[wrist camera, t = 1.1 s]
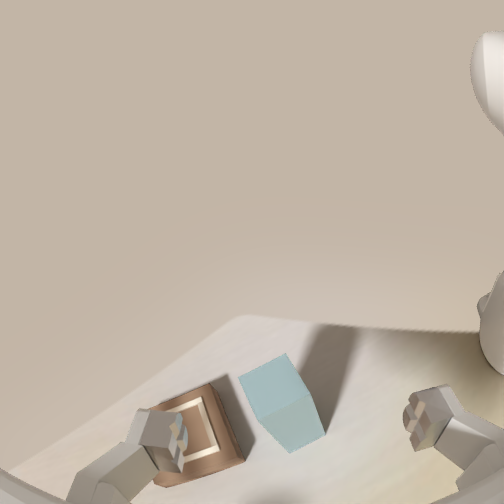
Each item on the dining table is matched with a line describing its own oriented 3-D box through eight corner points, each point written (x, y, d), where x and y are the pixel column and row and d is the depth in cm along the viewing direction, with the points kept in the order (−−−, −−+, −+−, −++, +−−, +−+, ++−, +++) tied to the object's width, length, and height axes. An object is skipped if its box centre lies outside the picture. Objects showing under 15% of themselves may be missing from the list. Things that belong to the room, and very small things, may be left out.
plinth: (217, 392, 41) (208, 382, 39) (245, 461, 31) (236, 456, 29) (149, 419, 39) (137, 411, 37) (166, 487, 30) (152, 483, 28)
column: (307, 405, 35) (285, 353, 27) (325, 434, 31) (310, 393, 23) (273, 423, 35) (238, 377, 26) (289, 453, 31) (257, 420, 22)
